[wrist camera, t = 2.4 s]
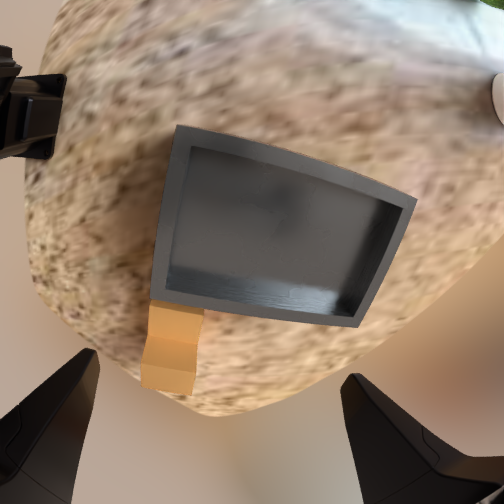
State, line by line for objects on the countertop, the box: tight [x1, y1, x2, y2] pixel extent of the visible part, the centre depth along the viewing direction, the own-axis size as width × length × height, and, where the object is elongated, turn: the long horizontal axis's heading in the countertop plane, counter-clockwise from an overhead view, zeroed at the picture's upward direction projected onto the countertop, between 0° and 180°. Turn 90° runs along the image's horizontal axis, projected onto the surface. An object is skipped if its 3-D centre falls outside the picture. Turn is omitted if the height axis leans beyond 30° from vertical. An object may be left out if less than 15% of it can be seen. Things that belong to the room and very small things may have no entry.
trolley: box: [150, 124, 418, 328], centre depth 17 cm, size 14×9×7 cm, turn 75°
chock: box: [141, 299, 204, 395], centre depth 21 cm, size 6×4×6 cm, turn 165°
